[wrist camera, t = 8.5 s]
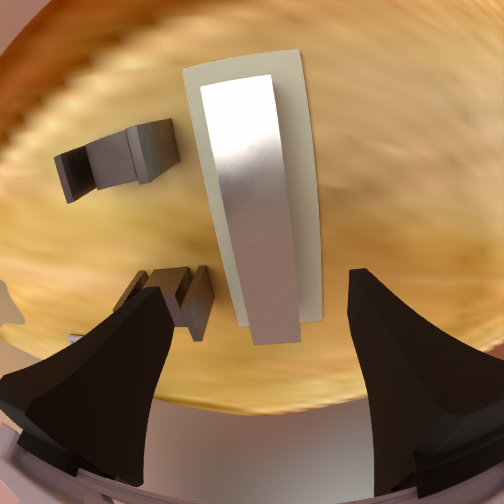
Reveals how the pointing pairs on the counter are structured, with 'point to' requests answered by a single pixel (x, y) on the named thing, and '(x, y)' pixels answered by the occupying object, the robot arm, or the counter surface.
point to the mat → (295, 164)
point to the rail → (255, 203)
